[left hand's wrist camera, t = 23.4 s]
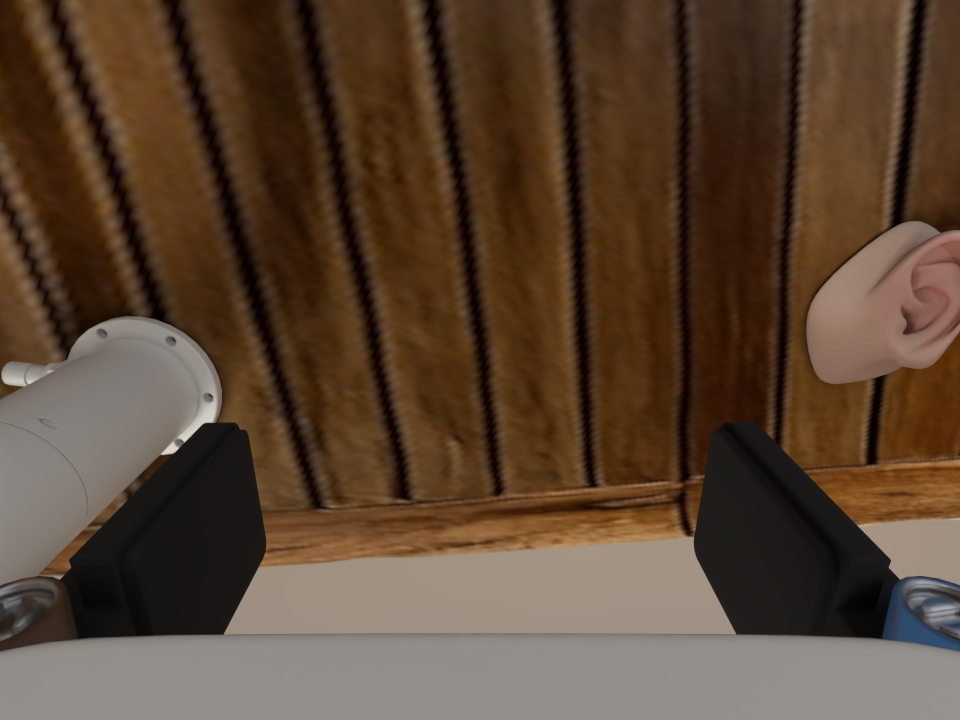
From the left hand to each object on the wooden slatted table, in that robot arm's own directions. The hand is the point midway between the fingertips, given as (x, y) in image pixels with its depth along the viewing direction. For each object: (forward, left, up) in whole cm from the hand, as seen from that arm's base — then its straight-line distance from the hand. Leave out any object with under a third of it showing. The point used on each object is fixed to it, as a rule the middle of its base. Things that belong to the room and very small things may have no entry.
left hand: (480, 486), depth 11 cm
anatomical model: (+33, -2, -35) cm, 48 cm away
